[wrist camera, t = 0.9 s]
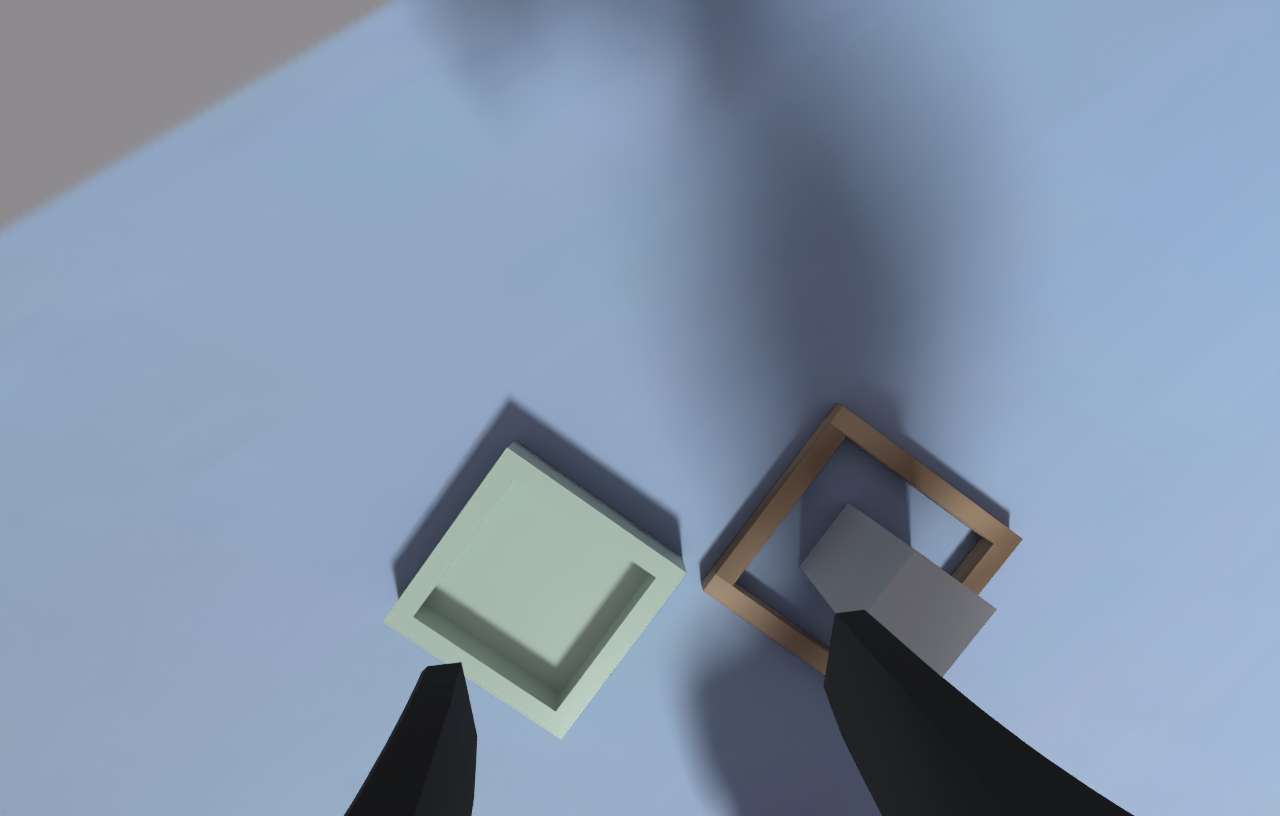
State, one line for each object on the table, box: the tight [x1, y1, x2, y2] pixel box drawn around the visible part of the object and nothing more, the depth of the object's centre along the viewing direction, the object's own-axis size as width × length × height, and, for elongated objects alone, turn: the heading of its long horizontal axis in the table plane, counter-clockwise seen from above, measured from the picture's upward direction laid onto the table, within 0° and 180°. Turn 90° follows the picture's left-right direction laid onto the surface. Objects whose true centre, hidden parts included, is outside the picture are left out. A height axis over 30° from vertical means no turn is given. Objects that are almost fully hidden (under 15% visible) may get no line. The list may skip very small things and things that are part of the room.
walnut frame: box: [701, 404, 1022, 675], centre depth 29 cm, size 11×11×1 cm
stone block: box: [799, 503, 997, 677], centre depth 26 cm, size 4×4×7 cm
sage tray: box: [383, 441, 686, 739], centre depth 29 cm, size 10×10×2 cm
